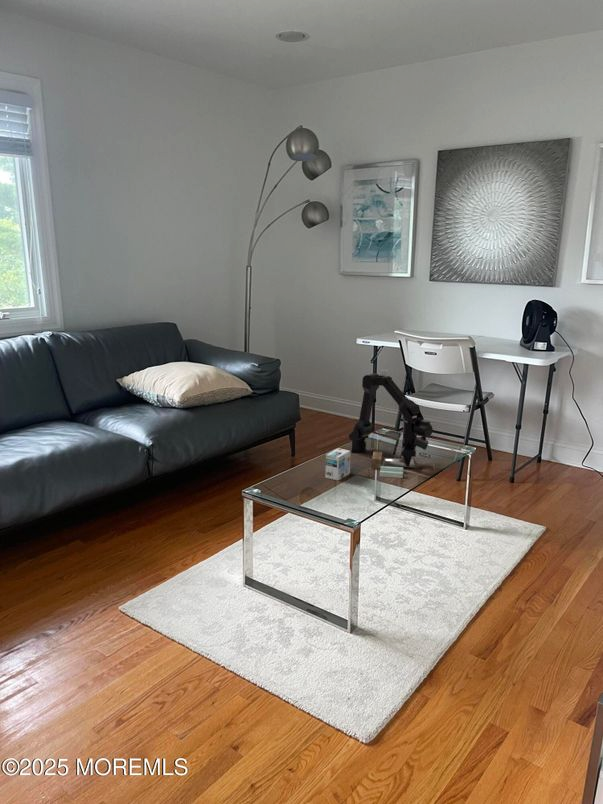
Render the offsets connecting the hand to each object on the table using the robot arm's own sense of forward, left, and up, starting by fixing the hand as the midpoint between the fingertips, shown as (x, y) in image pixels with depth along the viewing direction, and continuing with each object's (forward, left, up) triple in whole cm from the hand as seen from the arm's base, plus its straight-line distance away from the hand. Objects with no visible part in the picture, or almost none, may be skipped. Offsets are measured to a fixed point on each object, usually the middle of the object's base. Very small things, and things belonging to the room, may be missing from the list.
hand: (407, 464), depth 277 cm
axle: (-4, 0, -1) cm, 5 cm away
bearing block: (-14, 0, -1) cm, 14 cm away
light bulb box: (-30, -16, -2) cm, 34 cm away
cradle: (-7, -9, -1) cm, 12 cm away
